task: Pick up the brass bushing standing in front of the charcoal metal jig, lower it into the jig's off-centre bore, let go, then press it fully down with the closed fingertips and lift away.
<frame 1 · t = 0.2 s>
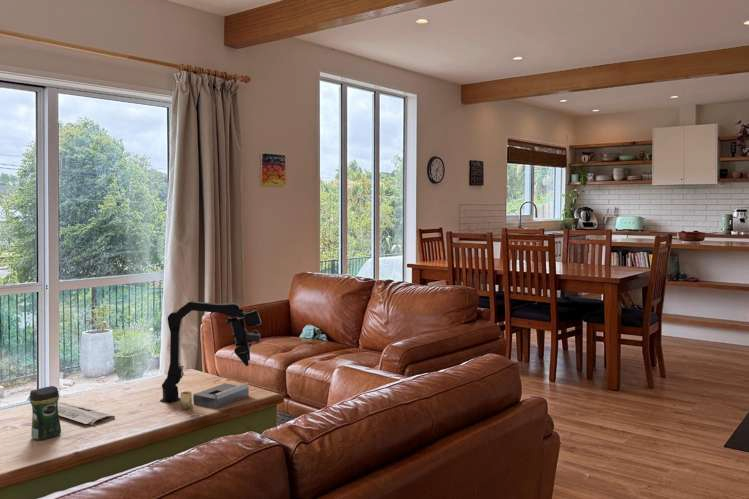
hand: (248, 363, 288), 15 cm above the table, tool pointing down, fingers open, 9 cm apart
coffee jar: (46, 436, 240), on the table
newspaper: (74, 417, 263), on the table
bushing: (186, 409, 272), on the table
jig: (221, 399, 284), on the table
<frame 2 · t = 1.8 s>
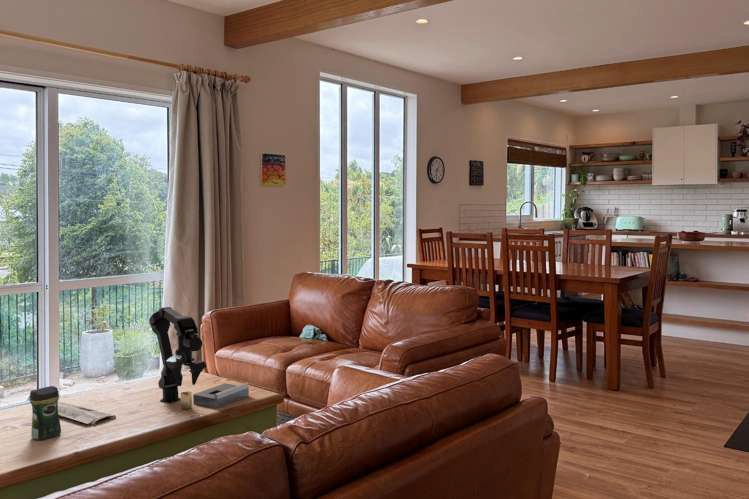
hand: (185, 383, 271), 11 cm above the table, tool pointing down, fingers open, 9 cm apart
nothing on the table moved.
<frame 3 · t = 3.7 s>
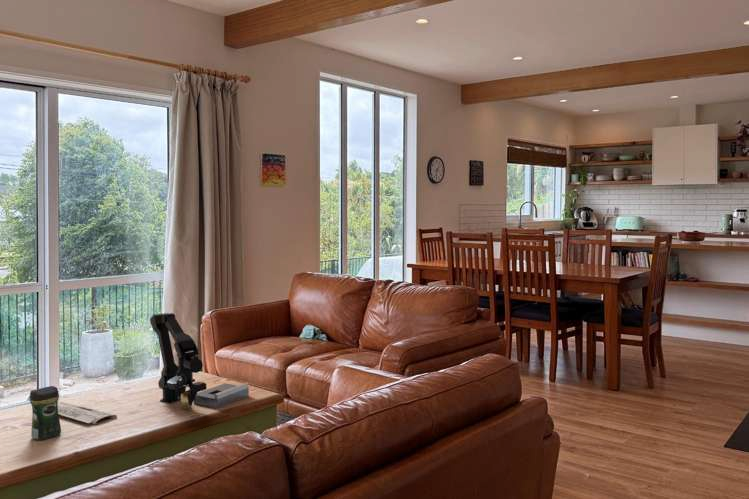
hand: (186, 404, 271), 2 cm above the table, tool pointing down, fingers closed on bushing, 4 cm apart
bushing: (186, 409, 272), on the table, touching gripper
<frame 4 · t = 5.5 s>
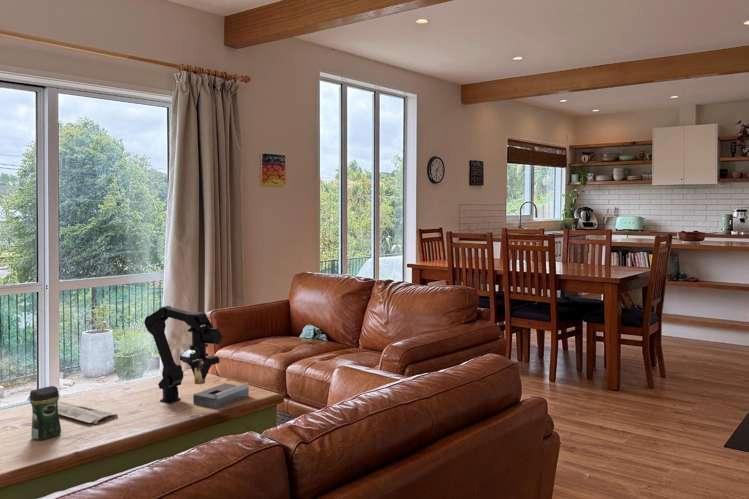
hand: (199, 378, 275), 12 cm above the table, tool pointing down, fingers closed on bushing, 4 cm apart
bushing: (199, 382, 275), point 10 cm above the table, touching gripper
everything else where it was.
when the fingers open (5 cm above the table, at t = 7.8 s): bushing drops 3 cm, resting in jig.
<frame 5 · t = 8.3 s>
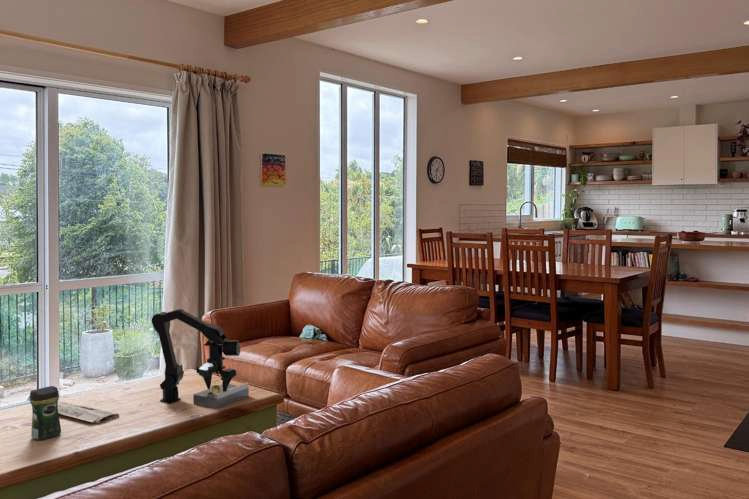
hand: (216, 390, 281), 5 cm above the table, tool pointing down, fingers open, 9 cm apart
bushing: (216, 401, 282), resting in jig
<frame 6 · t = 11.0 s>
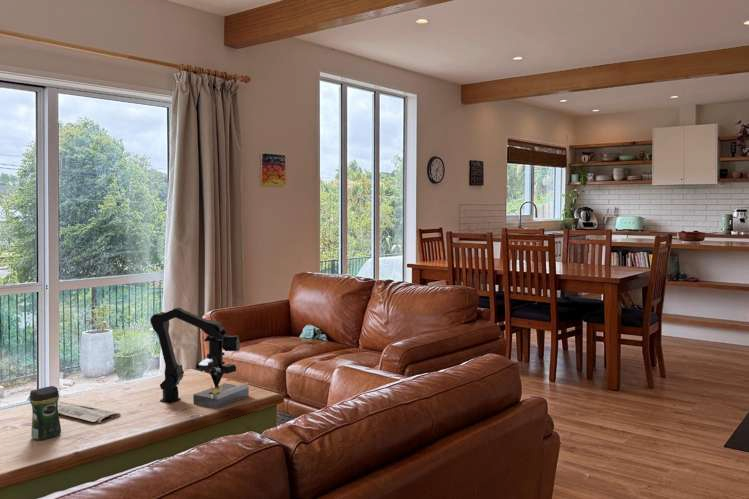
hand: (216, 385, 281), 7 cm above the table, tool pointing down, fingers closed, pressing on bushing
bushing: (216, 401, 282), resting in jig, touching gripper
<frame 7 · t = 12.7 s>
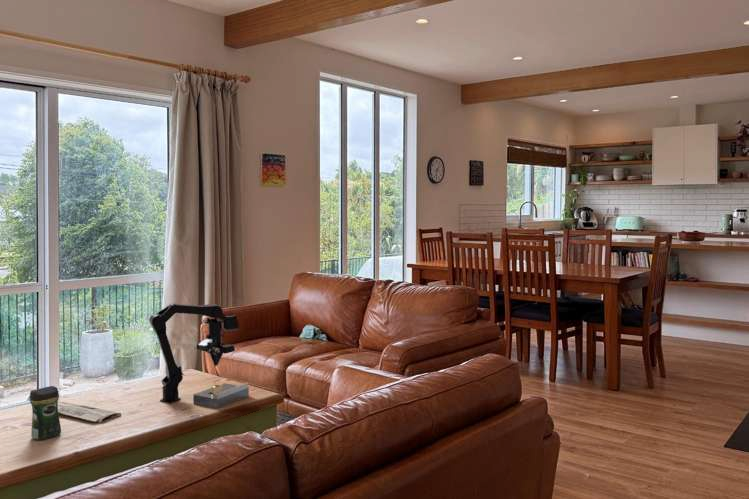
hand: (215, 365, 292), 13 cm above the table, tool pointing down, fingers closed
bushing: (216, 401, 282), resting in jig
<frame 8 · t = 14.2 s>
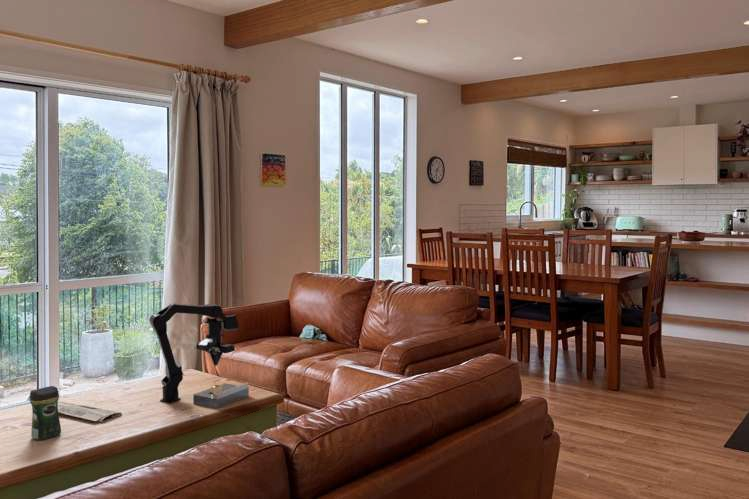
hand: (215, 365, 293), 13 cm above the table, tool pointing down, fingers closed
at the end: bushing 0.1 cm from the target spot on the jig, point 0.0 cm above the jig's base; bushing tilted 0°; the gripper is holding nothing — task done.
